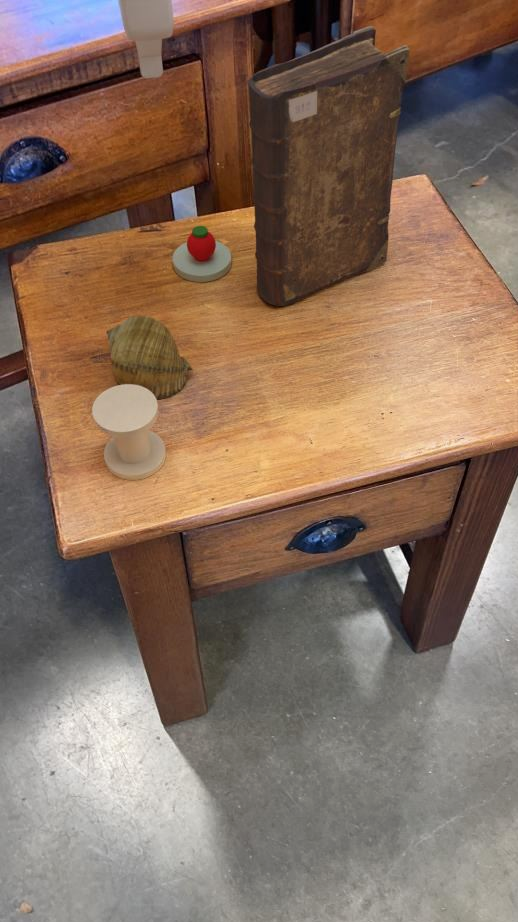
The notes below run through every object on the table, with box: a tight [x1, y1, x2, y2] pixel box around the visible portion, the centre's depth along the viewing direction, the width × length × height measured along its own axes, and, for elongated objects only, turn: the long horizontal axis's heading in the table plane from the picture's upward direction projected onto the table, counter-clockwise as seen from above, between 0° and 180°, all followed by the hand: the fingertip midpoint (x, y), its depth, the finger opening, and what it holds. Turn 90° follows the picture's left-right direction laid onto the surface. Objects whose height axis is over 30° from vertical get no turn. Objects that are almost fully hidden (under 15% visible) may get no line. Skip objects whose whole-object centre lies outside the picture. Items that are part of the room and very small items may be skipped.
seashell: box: [106, 315, 193, 400], centre depth 87 cm, size 10×7×8 cm
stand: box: [91, 384, 167, 481], centre depth 79 cm, size 6×6×7 cm
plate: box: [171, 240, 233, 283], centre depth 99 cm, size 7×7×1 cm
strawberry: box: [186, 225, 216, 262], centre depth 97 cm, size 3×3×4 cm
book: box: [247, 25, 410, 307], centre depth 88 cm, size 17×7×25 cm, turn 121°
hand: (145, 47), depth 71 cm, fingers open, 8 cm apart
